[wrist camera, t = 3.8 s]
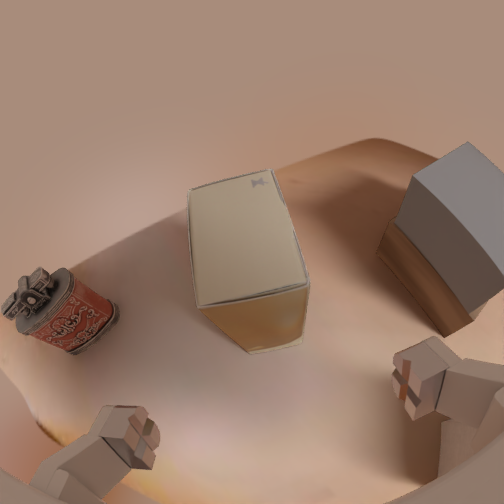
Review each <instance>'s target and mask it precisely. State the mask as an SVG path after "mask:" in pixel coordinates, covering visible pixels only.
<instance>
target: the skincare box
mask: <svg viewBox="0 0 504 504" xmlns="http://www.w3.org/2000/svg"><path fill="white" fill-rule="evenodd" d="M187 226H188V241H189V254H190V263H191V273H192V279H193V288H194V294H195V301H196V307H197V308H198V309H199V310H200V311H201V312H202V313H203V314H205V316H206V317H208V318H209V319H210V320H211V321H212V322H213V323H214V324H215V325H216V326H218V327H219V328H220V329H221V330H222V331H223V332H225V333H226V334H227V335H228V336H229V337H230V338H231V339H232V340H234V341H235V342H236V343H237V344H238V345H239V346H241V347H242V348H243V349H244V350H245V351H246V352H248V353H249V354H255V353H262V352H267V351H272V350H277V349H282V348H286V347H290V346H294V345H298V344H301V343H302V340H303V333H304V326H305V320H306V313H307V305H308V298H309V290H310V277H309V274H308V271H307V268H306V264H305V261H304V257H303V254H302V251H301V248H300V245H299V241H298V238H297V236H296V232H295V229H294V226H293V223H292V220H291V217H290V214H289V212H288V209H287V206H286V203H285V201H284V198H283V195H282V192H281V189H280V187H279V184H278V181H277V179H276V176H275V173H274V171H273V169H265V170H262V171H258V172H252V173H248V174H244V175H240V176H236V177H231V178H227V179H223V180H220V181H216V182H212V183H209V184H205V185H202V186H200V187H197V188H192V189H190V190H189V191H188V195H187Z"/></svg>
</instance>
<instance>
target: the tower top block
mask: <svg viewBox="0 0 504 504" xmlns="http://www.w3.org/2000/svg"><path fill="white" fill-rule="evenodd" d="M394 223H395V224H396V225H397V226H398V227H399V228H400V229H401V231H402V232H403V233H404V234H405V235H406V236H407V237H408V238H409V239H410V240H411V242H412V243H413V244H414V245H415V246H416V247H417V248H418V250H419V251H420V252H421V253H422V254H423V255H424V257H425V258H426V259H427V260H428V261H429V262H430V264H431V265H432V266H433V267H434V269H435V270H436V271H437V272H438V274H439V275H440V276H441V277H442V279H443V280H444V281H445V282H446V284H447V285H448V286H449V288H450V289H451V290H452V292H453V293H454V294H455V296H456V297H457V298H458V300H459V301H460V303H461V304H462V305H463V307H464V308H465V310H466V311H467V313H468V314H470V313H471V312H473V311H474V310H476V309H477V308H478V307H480V306H481V305H483V304H484V303H485V302H487V301H488V300H489V299H491V298H492V297H493V296H495V295H496V294H497V293H499V292H500V291H501V290H502V289H504V174H503V173H502V172H501V171H500V170H499V169H498V168H497V167H496V166H495V165H494V164H493V163H492V162H491V161H490V160H489V159H488V158H487V157H486V156H484V155H483V154H482V153H481V152H480V151H479V150H477V149H476V148H475V147H474V146H473V145H472V144H471V143H469V142H466V143H465V144H463V145H461V146H460V147H458V148H457V149H455V150H453V151H452V152H450V153H448V154H447V155H445V156H443V157H442V158H440V159H439V160H437V161H435V162H434V163H432V164H430V165H429V166H427V167H425V168H424V169H422V170H420V171H419V172H417V173H415V174H414V175H412V178H411V181H410V184H409V186H408V189H407V192H406V194H405V197H404V200H403V202H402V205H401V207H400V210H399V212H398V215H397V217H396V220H395V222H394Z"/></svg>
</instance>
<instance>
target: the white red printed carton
mask: <svg viewBox="0 0 504 504" xmlns="http://www.w3.org/2000/svg"><path fill="white" fill-rule="evenodd" d="M476 432H477V429H475V428H473V427H470V426H468V425H465V424H463V423H461V422H458V421H456V420H454V419H449V420H446V421H443V422H441V445H440V458H439V468H438V476H437V478H438V477H440V476H442V475H444V474H445V473H447V472H449V471H450V470H452V469H453V468H455V467H456V466H458V465H460V464H461V463H463V462H464V461H466V460H467V459H468V458H470V457H471V456H473V455H474V454H475V452H474V450H473V449H472V447H471V446H470V444H471V441H472V439H473V437H474V435H475V434H476Z"/></svg>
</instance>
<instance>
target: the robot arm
mask: <svg viewBox="0 0 504 504" xmlns="http://www.w3.org/2000/svg"><path fill="white" fill-rule="evenodd" d="M393 364H394V366H395V367H396V369H395V370H394V372H393V373H392V385H393V389H394V391H395V394H396V395H397V397H398V399H400V400H403V401H405V407H404V408H405V409H406V411H407V413H408V414H409V416H410V417H411V419H412V420H413V421H414V420H416V419H418V418H420V417H423V416H425V415H427V414H429V413H431V412H433V411H435V410H436V412H438V413H440V414H442V415H445V416H447V417H449V418H451V419H454V420H456V421H458V422H461V423H463V424H465V425H468V426H470V427H473V428H475V429H477V432H476V434H475V435H474V437H473V439H472V441H471V444H470V446H471V447H472V449H473V450H474V452H475V454H474V455H473V456H471V457H470V458H468V459H467V460H466V461H464V462H463V463H461V464H460V465H458V466H456V467H455V468H453V469H452V470H450V471H449V472H447V473H445V474H444V475H442V476H440V477H438V478H437V479H435V480H433V481H431V482H429V483H428V484H426V485H424V486H422V487H420V488H418V489H416V490H414V491H412V492H410V493H408V494H406V495H403V496H401V497H399V498H397V499H394V500H392V501H390V502H387V503H385V504H504V365H499V364H493V363H488V362H482V361H477V360H472V359H467V358H465V359H464V360H462V359H461V358H460V357H458V356H457V355H456V354H455V353H454V352H453V351H452V350H451V349H450V348H449V347H447V346H446V345H445V344H444V343H443V342H442V341H441V340H440V339H438V338H437V337H435V336H432V337H430V338H428V339H426V340H424V341H422V342H421V343H418V344H416V345H413V346H411V347H409V348H407V349H404V350H402V351H400V352H397V353H395V354H394V357H393ZM148 414H149V413H148V412H147V411H146V409H145V408H144V407H142V406H120V405H117V406H113V405H106V406H104V407H103V408H102V409H101V411H100V413H99V415H98V416H97V418H96V420H95V422H94V423H93V425H92V427H91V429H90V431H89V432H88V434H87V435H83V436H81V437H80V438H78V439H77V440H75V441H74V442H72V443H71V444H69V445H68V446H66V447H64V448H63V449H61V450H60V451H58V452H57V453H55V454H53V455H52V456H50V457H49V458H47V459H45V460H44V461H42V462H41V464H40V466H39V468H38V469H37V471H36V473H35V475H34V476H33V478H32V480H31V482H30V484H27V483H25V482H23V481H21V480H20V479H18V478H16V477H15V476H13V475H11V474H10V473H8V472H6V471H5V470H3V469H2V468H0V504H107V503H105V502H103V501H102V500H101V499H102V498H103V497H104V496H105V495H106V494H107V493H108V492H109V491H111V489H113V488H114V486H115V485H117V484H118V483H119V482H120V481H121V480H122V479H123V478H124V477H125V476H126V475H127V473H128V472H129V471H130V470H131V468H132V469H145V470H152V468H153V464H154V461H155V457H156V455H155V453H154V450H155V449H156V448H157V447H158V446H159V443H160V432H159V429H158V427H157V425H156V424H155V422H153V421H152V420H150V419H149V418H148Z"/></svg>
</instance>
